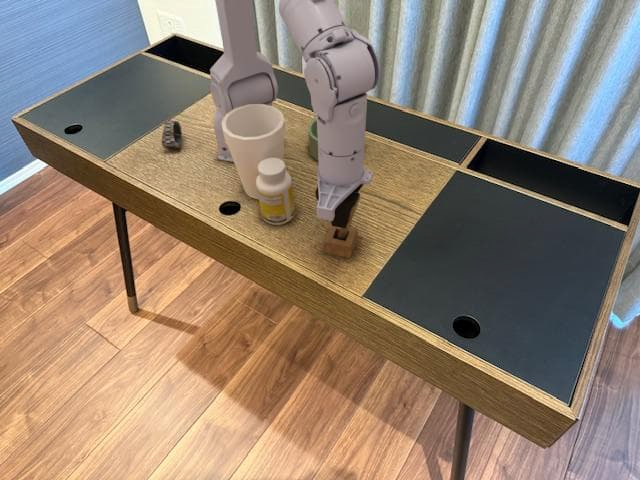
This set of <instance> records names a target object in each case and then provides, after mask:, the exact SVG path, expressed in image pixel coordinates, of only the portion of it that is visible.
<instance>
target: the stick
mask: <svg viewBox="0 0 640 480" xmlns="http://www.w3.org/2000/svg"><path fill="white" fill-rule="evenodd" d="M356 193H359V192H356ZM360 199H361V194H360V195H359V198H358V200H357V202H356V204H355V206H354V207H353V208H352V209H351V213H350V217H349V221H348V224H347V226H346V228H340V230H339V232H338V235H337V238H336V239H339V240H345V237H346V235H347V232H348V229H349V226H351V224H352V222H353V219H354V216H355V213H356V210H357V207H358V205H359V202H360Z"/></svg>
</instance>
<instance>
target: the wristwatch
mask: <svg viewBox="0 0 640 480" xmlns="http://www.w3.org/2000/svg"><path fill="white" fill-rule="evenodd" d="M182 138H183V132H182V126H181V124H180V122H179V121H178V120H165V122H164V126H163V131H162V134H161V145H162V147H163V148H165V149H170V150H173V149H175V150H177V149H180V148H181V145H182Z"/></svg>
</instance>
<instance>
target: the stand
mask: <svg viewBox="0 0 640 480" xmlns="http://www.w3.org/2000/svg"><path fill="white" fill-rule="evenodd" d="M339 230H340V227H335V226H332V224H331V223H330V226H329V228H328V230H327V233H326V236H325V238H324V241H323V252H324V253H325V254H328V255H334V256H338V257H343V258H347V259H351V258H352V255H353V251H354V249H355V247H356V244H357V241H358V230H359V228H358V227H356V226H351V225H350V226H349V229H348V232H347V235H346V237H345V240H339V239H336V238H337V235H338V232H339Z"/></svg>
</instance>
